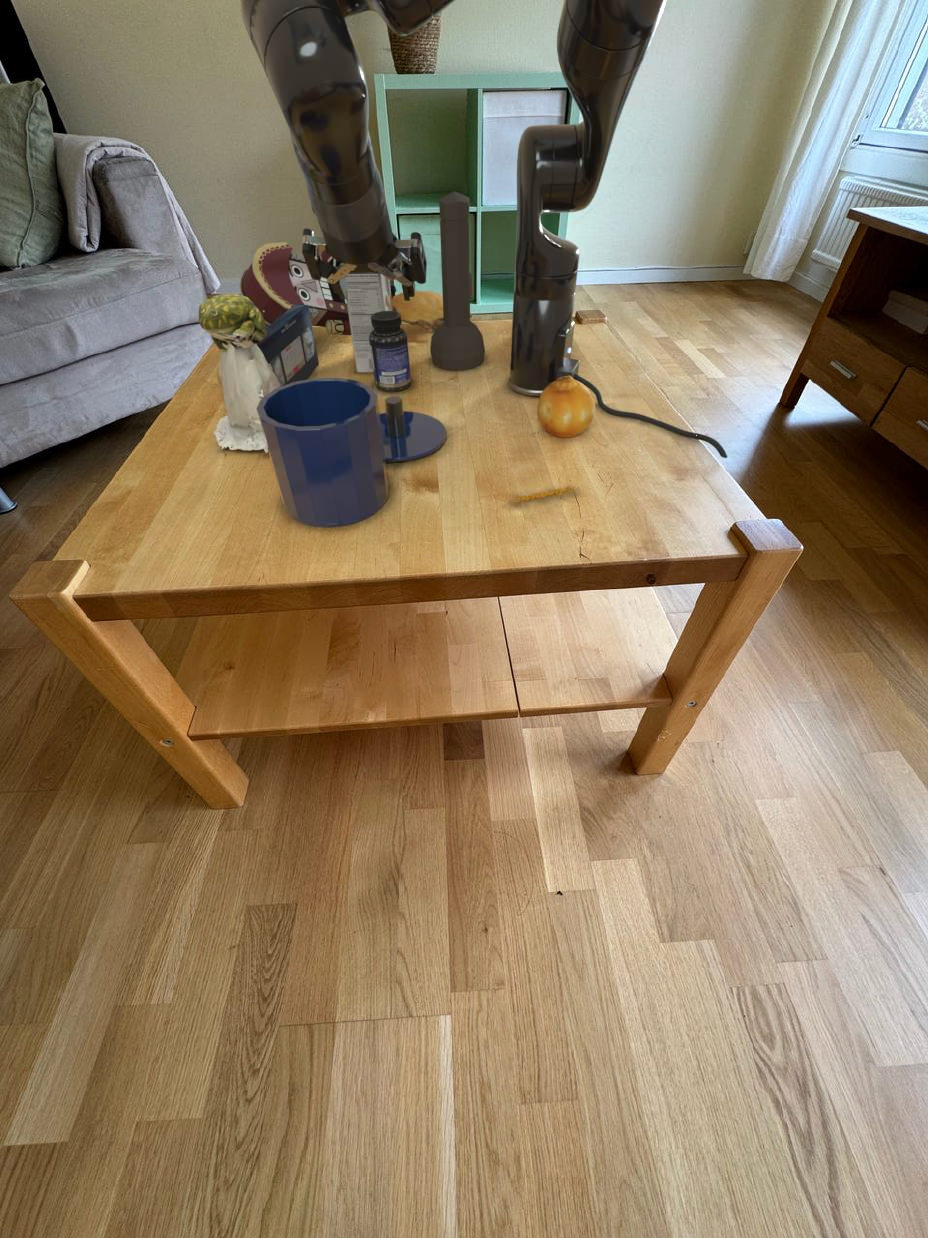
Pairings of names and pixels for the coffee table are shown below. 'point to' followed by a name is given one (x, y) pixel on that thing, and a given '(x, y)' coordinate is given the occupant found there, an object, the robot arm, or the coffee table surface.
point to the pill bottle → (389, 352)
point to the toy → (293, 289)
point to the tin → (326, 450)
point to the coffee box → (365, 311)
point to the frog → (239, 368)
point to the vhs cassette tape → (291, 346)
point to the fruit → (565, 407)
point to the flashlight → (456, 291)
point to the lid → (408, 432)
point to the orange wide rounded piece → (421, 309)
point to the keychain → (544, 494)
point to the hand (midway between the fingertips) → (375, 292)
